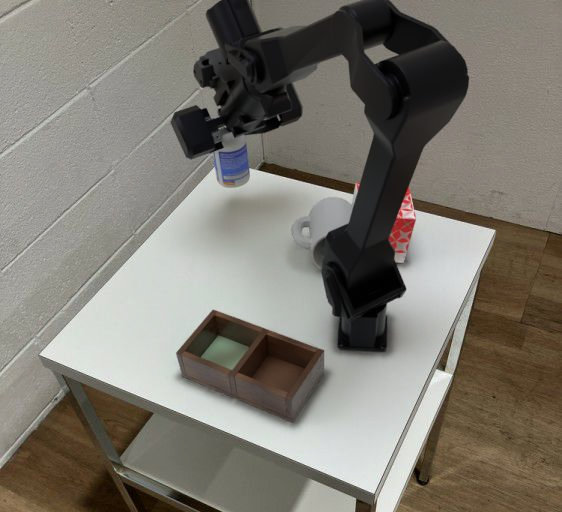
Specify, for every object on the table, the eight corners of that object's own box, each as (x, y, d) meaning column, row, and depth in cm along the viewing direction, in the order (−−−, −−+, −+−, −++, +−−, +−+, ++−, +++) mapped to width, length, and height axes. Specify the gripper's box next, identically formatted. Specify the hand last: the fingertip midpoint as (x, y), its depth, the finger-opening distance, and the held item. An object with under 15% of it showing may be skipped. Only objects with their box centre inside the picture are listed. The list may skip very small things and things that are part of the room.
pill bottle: (257, 177, 102) (251, 120, 95) (233, 193, 100) (226, 135, 92) (233, 166, 105) (226, 109, 97) (209, 181, 102) (200, 124, 95)
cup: (350, 235, 100) (356, 273, 94) (287, 232, 99) (289, 269, 93) (359, 196, 94) (365, 234, 89) (292, 192, 94) (294, 229, 88)
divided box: (324, 373, 82) (324, 350, 78) (292, 422, 77) (291, 399, 74) (217, 332, 87) (212, 309, 84) (181, 376, 83) (175, 352, 79)
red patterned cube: (355, 182, 93) (360, 215, 88) (408, 186, 93) (416, 218, 88) (347, 227, 99) (350, 260, 94) (397, 230, 100) (403, 263, 95)
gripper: (288, 16, 85) (255, 69, 100) (162, 54, 79) (146, 105, 94) (322, 96, 86) (284, 137, 101) (199, 140, 81) (178, 177, 96)
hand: (224, 137), depth 98 cm, fingers closed on pill bottle, 5 cm apart
